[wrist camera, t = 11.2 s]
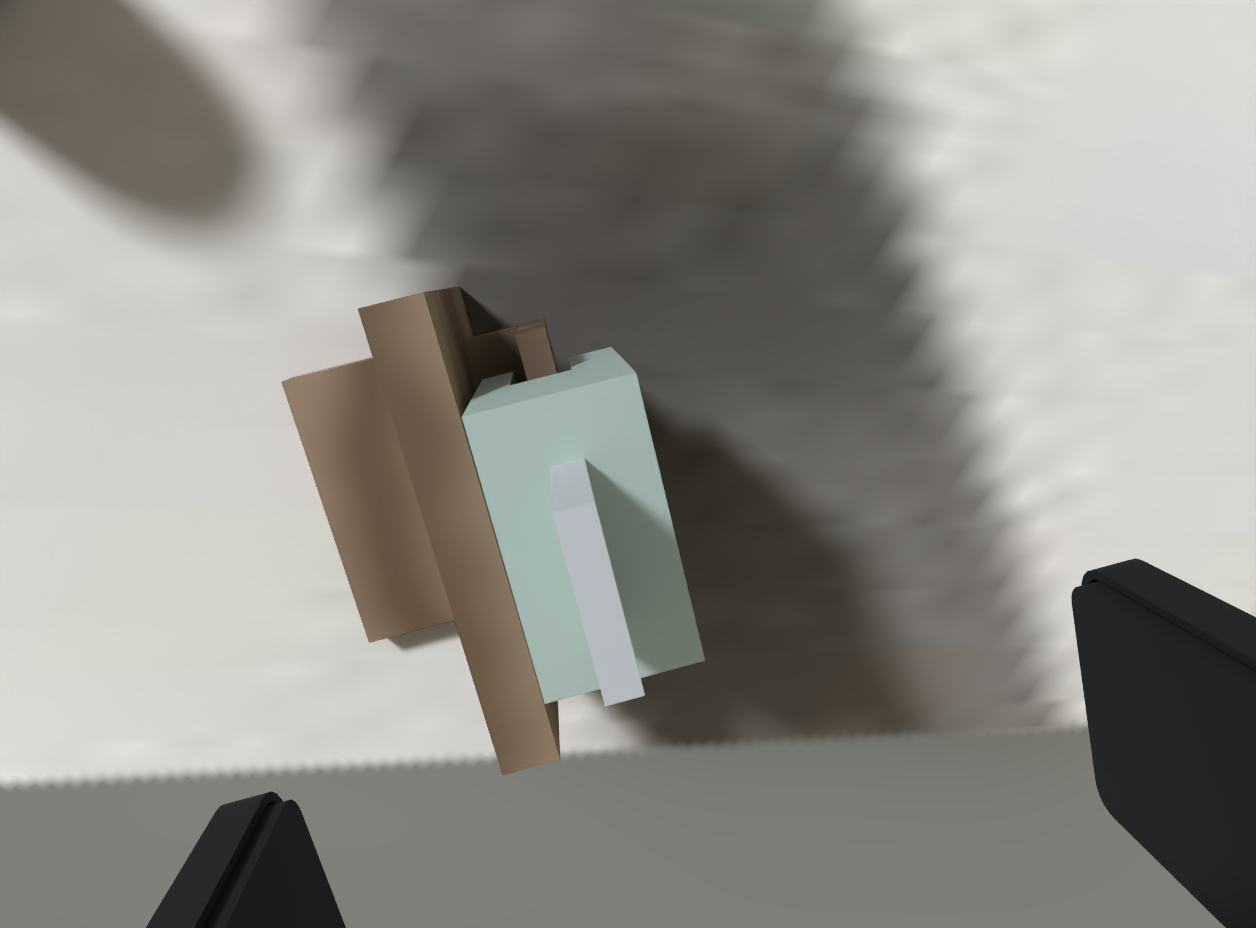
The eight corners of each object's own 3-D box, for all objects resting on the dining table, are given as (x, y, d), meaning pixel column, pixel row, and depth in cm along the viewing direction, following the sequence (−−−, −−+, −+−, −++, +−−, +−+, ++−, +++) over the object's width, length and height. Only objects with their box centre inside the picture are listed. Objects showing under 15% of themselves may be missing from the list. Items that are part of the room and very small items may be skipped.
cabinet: (611, 346, 34) (659, 396, 20) (664, 565, 36) (741, 746, 22) (482, 379, 33) (442, 452, 20) (543, 597, 35) (545, 800, 22)
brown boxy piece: (531, 268, 38) (528, 266, 27) (620, 606, 42) (651, 734, 30) (276, 332, 38) (157, 358, 26) (388, 668, 41) (328, 823, 30)
